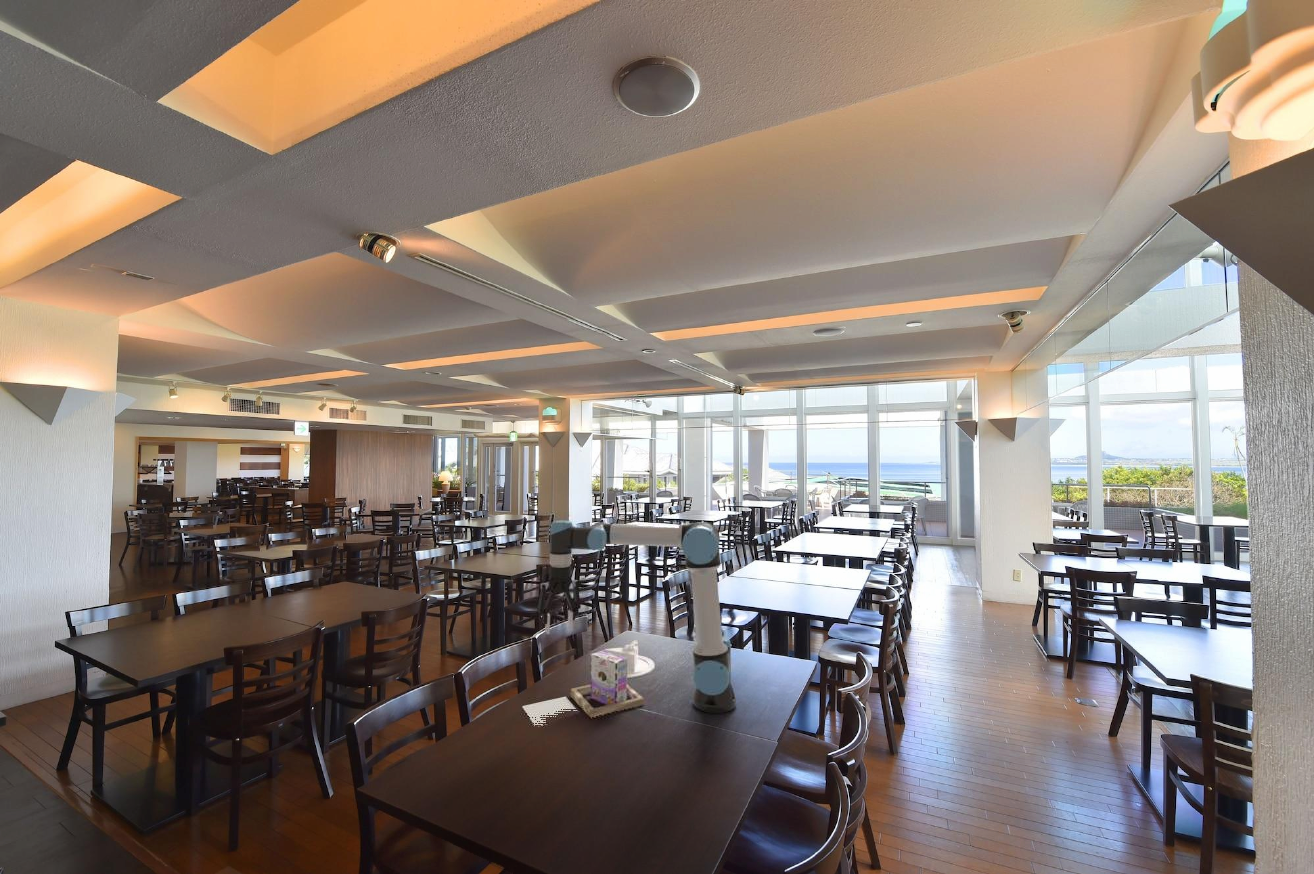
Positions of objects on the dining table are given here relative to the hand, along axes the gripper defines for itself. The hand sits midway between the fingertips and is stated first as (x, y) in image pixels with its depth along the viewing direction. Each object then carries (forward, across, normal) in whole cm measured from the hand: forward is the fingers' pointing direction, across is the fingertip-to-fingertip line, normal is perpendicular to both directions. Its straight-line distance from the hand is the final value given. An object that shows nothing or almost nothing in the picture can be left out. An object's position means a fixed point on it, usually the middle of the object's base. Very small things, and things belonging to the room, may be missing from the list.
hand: (558, 631), depth 185 cm
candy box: (+28, -19, +1) cm, 34 cm away
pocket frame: (+28, -18, 0) cm, 33 cm away
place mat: (+28, +2, +1) cm, 28 cm away
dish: (+28, -38, -26) cm, 54 cm away
